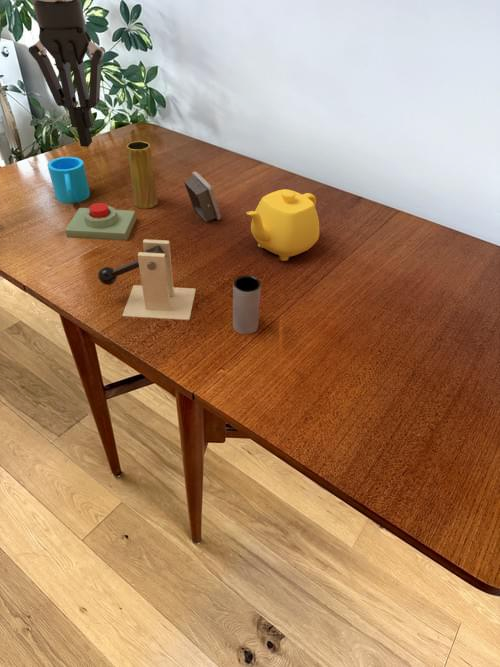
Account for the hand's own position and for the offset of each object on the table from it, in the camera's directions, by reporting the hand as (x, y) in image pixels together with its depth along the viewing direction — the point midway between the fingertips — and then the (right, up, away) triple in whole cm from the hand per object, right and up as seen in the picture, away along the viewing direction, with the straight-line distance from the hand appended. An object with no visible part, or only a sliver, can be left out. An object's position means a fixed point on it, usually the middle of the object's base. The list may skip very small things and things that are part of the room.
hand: (86, 143), depth 91 cm
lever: (+12, -27, -10) cm, 31 cm away
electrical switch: (+21, -9, +20) cm, 31 cm away
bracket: (+16, -33, -5) cm, 37 cm away
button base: (-1, -14, +14) cm, 19 cm away
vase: (+6, -5, +23) cm, 25 cm away
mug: (-12, -4, +23) cm, 27 cm away
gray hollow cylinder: (+31, -37, -9) cm, 49 cm away
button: (-1, -11, +11) cm, 16 cm away
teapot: (+39, -19, +11) cm, 44 cm away
